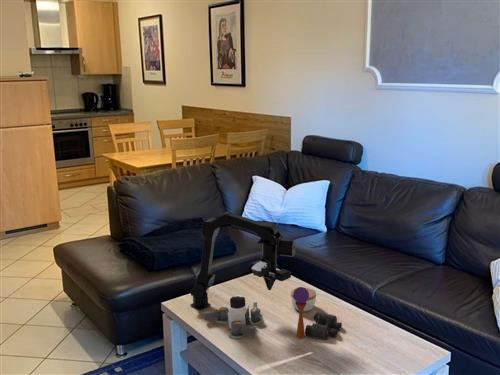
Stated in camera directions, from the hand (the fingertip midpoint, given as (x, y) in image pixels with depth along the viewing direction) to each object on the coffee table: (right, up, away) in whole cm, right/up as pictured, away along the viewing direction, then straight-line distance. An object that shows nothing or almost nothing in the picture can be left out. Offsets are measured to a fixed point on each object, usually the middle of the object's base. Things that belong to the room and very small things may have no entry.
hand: (269, 289), depth 202 cm
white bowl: (+15, -10, +9) cm, 20 cm away
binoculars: (+21, -15, -9) cm, 27 cm away
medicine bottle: (-12, -13, -5) cm, 19 cm away
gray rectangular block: (-11, -14, -13) cm, 22 cm away
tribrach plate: (-13, -13, -3) cm, 19 cm away
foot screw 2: (-6, -11, +2) cm, 13 cm away
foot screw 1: (-22, -12, -1) cm, 25 cm away
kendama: (+12, -15, -13) cm, 23 cm away
